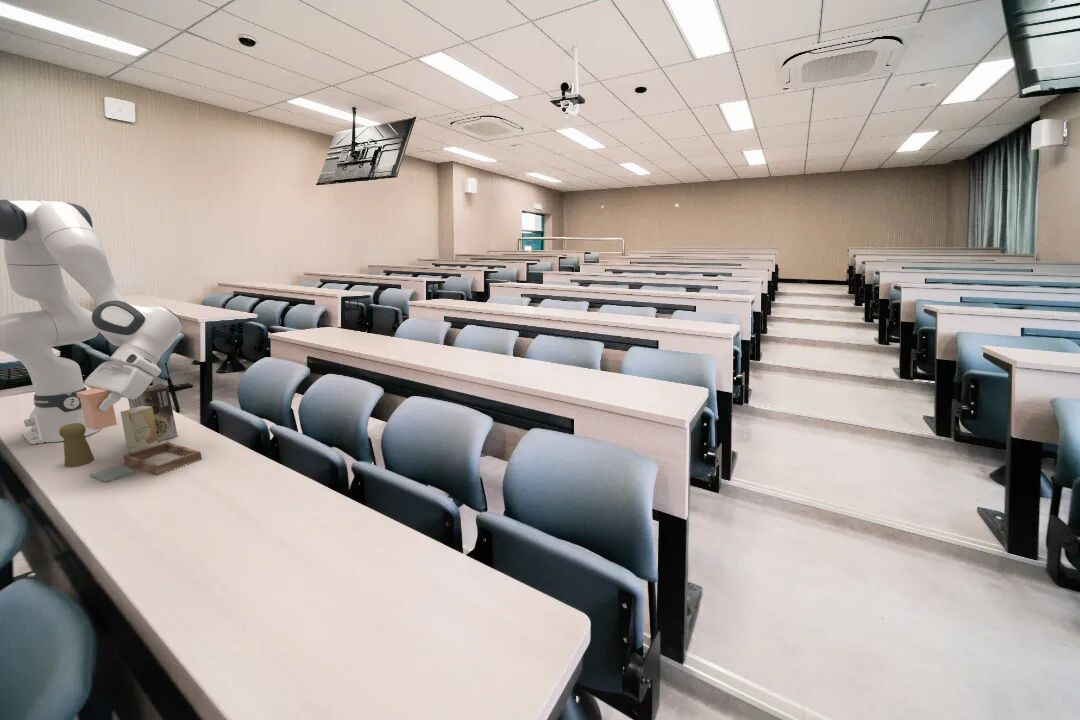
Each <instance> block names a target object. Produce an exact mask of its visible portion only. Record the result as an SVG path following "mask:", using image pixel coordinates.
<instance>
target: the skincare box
mask: <svg viewBox="0 0 1080 720" xmlns="http://www.w3.org/2000/svg"><path fill="white" fill-rule="evenodd" d="M120 417H121V421H122V429H123V435H124V440H125V444H126V451H127V452H128V453H134V452H137V451H141V450H144V449H147V448H150V447H153V446H156V445H160V443H159V441H158V438H157V432H156V426H155V420H154V414H153V408H152V407H149V406H139V407H136V408H131V409H130V408H128V409H126V410H123V411H122V410H121V411H120Z"/></svg>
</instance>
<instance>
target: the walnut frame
mask: <svg viewBox="0 0 1080 720" xmlns="http://www.w3.org/2000/svg"><path fill="white" fill-rule="evenodd" d="M164 451H165V452H169V451H171V452H170V453H172V452H174V453H173V454H176V453H177V454H176V455H179V454H181V455H180V457H177V458H175V459H172V460H169V461H166V462H163V463H161V464H156V463H154V462H151V461H147V460H145V459H146V458H149V457H150V458H151V457H154V456H155V454H156V455H159V454H162V453H165V452H164ZM161 452H162V453H161ZM158 453H159V454H158ZM182 455H184V456H182ZM202 457H203V456H202V452H201V451H199V450H197V449H196V450H195V449H192V448H189V447H186V446H182V445H180V444H176V443H172V442H170V441H166V442H163V443H159V445H156V446H153V447H150V448H147V449H144V450H141V451H137V452H134V453H133V452H130V453H128V454H125V455H123V463H124V464H125V465H127V466H130V467H133V468H135V469H138V468H139V469H138V470H141V469H142V470H141V471H144V470H145V471H144V472H147V473H151V474H152V475H155V474H156V476H159V474H160V475H162V474H164V472H165V473H167V472H166V471H168V472H170V471H169V470H171V469H173V470H175V469H174V468H176V469H178V468H177V467H179V468H181V467H180V466H182V467H183V465H184V466H186V465H185V464H187V465H189V464H188V463H190V464H192V463H191V462H193V463H195V462H197V461H196V460H198V461H200V460H199V459H201V460H202V459H203V458H202ZM194 461H195V462H194ZM171 471H172V470H171ZM161 473H162V474H161Z"/></svg>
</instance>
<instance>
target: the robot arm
mask: <svg viewBox="0 0 1080 720" xmlns="http://www.w3.org/2000/svg"><path fill="white" fill-rule="evenodd" d="M0 240H4V241H3V248H4V249H3V251H4V258H5V264H6V271H7V274H8V280H9V283H10V284H9V285H10V288H11V290H12V291H13V292H14V293H15V294H16V295H18V296H20V297H21V298H22V297H23V298H26V299H28V300H31V301H36V302H37V303H38V305H39V306H40V310H35V311H26V312H16V313H15V312H14V313H8V314H6V315H4V314H3V315H1V316H0V352H3V353H5V354H8V355H9V356H12V357H14V359H17V360H18V361H19V362H20V363H21V364H22V365H23V366H24V368H26V370H27V372H28V374H29V378H30V380H31V384H32V387H33V390H34V395H33V405H34V406H35V407H34V408H33V410H32V411H31V413H30V414H29V415H28V417H29V418H27V419H24V420H23V424H24V426H25V428H26V429H25V430H22V433H21V434H22V436H23V435H24V436H23V437H24V438H25V440H26V439H27V440H26V441H27V443H28V444H29V443H30V444H29V445H37V443H38V444H44V442H46V443H56V442H64V438H63V437H61V436H60V434H59V430H60V428H61V427H62V426H64V425H68V424H72V423H81V424H83V425H84V426H85V428H86V431H85V433H84V435H85V437H86V436H89V435H92V434H95V433H96V432H99V431H100V430H101V429H98V430H93V429H90V428H87V427H86V424H85V419H84V415H83V410H82V406H81V401H80V398H79V397H77V395H76V392H80V391H85V390H88V389H87V388H89V389H95V388H99V389H103V390H107V391H110V392H111V393H110V394H109V395H108V396H109V397H108V398H107V399H105V400H104V401H103V402H100V404H99V405H98V406H97V408H98V409H100V410H102V411H107V410H108V409H109V408H110V407H111V406H112V405H113V406H114V405H115V404H116V403H117V402H119V401H120V400H121V398H125V399H127V400H128V399H132V400H134V399H136V398H137V397H139V396H140V395H141V394H142V393H143V392H144V391H145V390H146V388H147V387H148V386H151V385H150V384H152V382H153V380H154V378H156V377H158V376H160V374H161V373H162V369H161V368H160V367H159V366H158V365H157V364H158V362H159V361H160V359H161V356H162V355H163V354H164V353H165V352H166V351H167V350H168V349H170V347H171V346H172V345H173V343H174V342H175V341H176V339H177V338H178V336H179V335H180V333H181V331H182V329H183V323H182V321H181V319H180V318H179V316H177V315H176V313H174V312H173V311H172V310H170V309H169V308H167V307H166V306H165V307H164V306H162V305H155V306H145V305H144V306H143V305H142V306H141V305H137V304H132V303H127V301H126V300H125V298H124V296H123V295H122V293H121V291H120V290H119V288H118V286H117V284H116V281H115V280H114V279H115V278H114V276H113V273H112V270H111V267H110V265H109V261H108V259H107V255H106V252H105V250H104V247H103V245H102V243H101V241H100V239H99V237H98V235H97V233H96V232H95V230H94V228H93V219H92V218H91V215H90V213H89V212H88V211H87V210H86V209H85V207H84V206H81V205H79V204H76V203H70V202H64V201H60V200H59V201H58V200H57V201H56V200H54V201H53V200H52V201H51V200H41V199H35V200H32V199H31V200H29V199H28V200H23V199H20V200H19V199H18V200H8V199H0ZM62 269H63V270H64V271H65V273H67V274H68V275H69V276H70V277H71V278H73V280H75V282H76V283H78V284H79V285H80V286H81V287H82V288H83V289H84V290H85V291H86V293H88V295H90V297H91V299H92V300H93V302H94V303H95V305H96V308H95V309H94V310H93V311H91V310H89V309H87V308H85V307H83V306H82V305H80V304H79V303H77V302H76V300H74V299H73V297H72V296H71V295H70V294H69V292H68V290H67V288H66V285H65V282H64V278H63V274H62V273H63V272H62ZM99 333H100V334H101V335H102V336H103V337H104V338H105V339H106V340H107V341H108V343H109V345H110V346H111V347H112V348H113V349H115V352H113V353H112V354H111V356H110V357H109V359H110V360H108V361H104V362H102V363H101V364H99V365H98V366H97V367H96V368H95V369H94V371H92V372H91V373H90V374H89V375H88V376H87V378H86V379H85V380H84V379H83V376H82V370H81V367H80V365H79V364H78V362H76V361H75V360H73V359H70V358H66V357H61V356H57V355H56V354H55V353H54V352H53V351H54V350H53V349H52V348H55V347H60V346H65V345H67V346H68V345H72V344H73V345H74V344H79V343H82V342H85V341H88V340H91V339H94V338H96V337H97V336H98V334H99ZM27 428H28V429H27Z"/></svg>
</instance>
